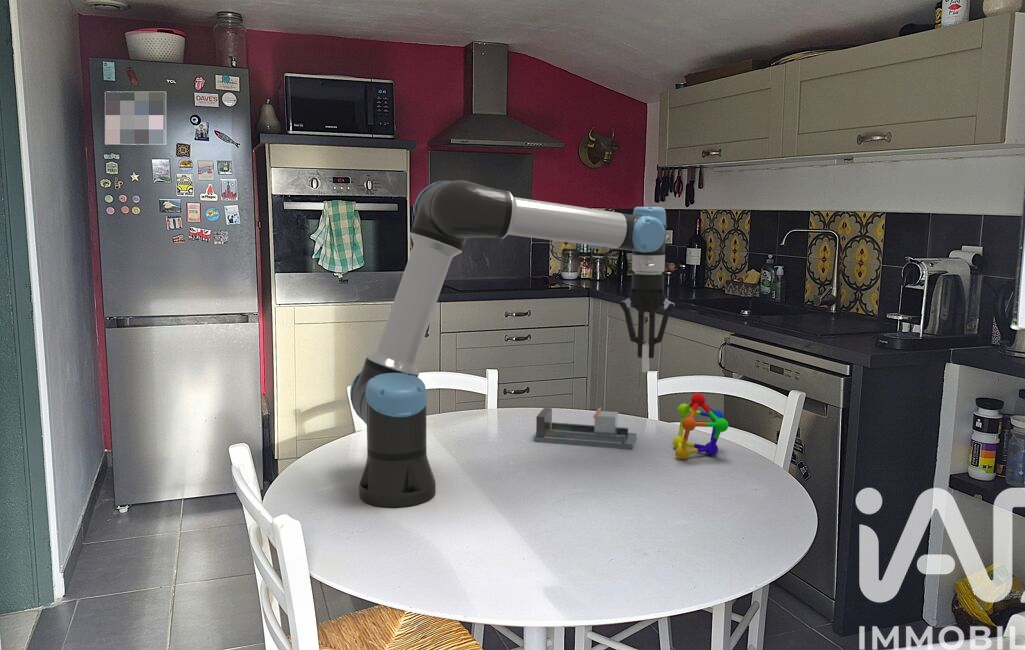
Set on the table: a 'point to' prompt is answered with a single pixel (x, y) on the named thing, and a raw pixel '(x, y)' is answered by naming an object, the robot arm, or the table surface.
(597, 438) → the base
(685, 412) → the educational toy
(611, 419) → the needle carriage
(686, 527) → the table surface
